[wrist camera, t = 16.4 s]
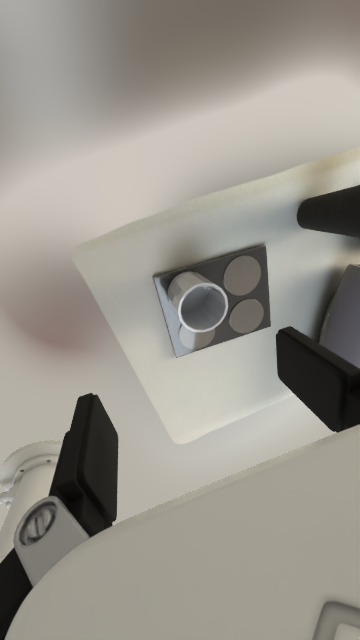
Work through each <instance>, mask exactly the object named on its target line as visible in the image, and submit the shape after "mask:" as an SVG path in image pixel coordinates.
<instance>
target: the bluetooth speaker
mask: <svg viewBox="0 0 360 640" xmlns="http://www.w3.org/2000/svg"><path fill="white" fill-rule="evenodd" d="M320 336H321V337H320V341H319V344H321V345H322V346H324V347H325V348H327V349H329V350H330V351H332V352H334V353H335V354H337V355H339V356H340V357H342V358H343V359H345V360H347V361H348V362H350V363H352V364H353V365H355V366H356V367H358V368H360V265H354V264H349V265H348V267H347V269H346V271H345V273H344V275H343V277H342V279H341V282H340V284H339V287H338V290H337V292H336V293H335V294H334V295H333V297H332V299H331V301H330V303H329V306H328V308H327V311H326V314H325V317H324V320H323V323H322V327H321V331H320Z"/></svg>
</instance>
